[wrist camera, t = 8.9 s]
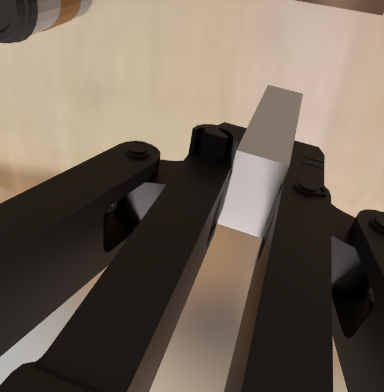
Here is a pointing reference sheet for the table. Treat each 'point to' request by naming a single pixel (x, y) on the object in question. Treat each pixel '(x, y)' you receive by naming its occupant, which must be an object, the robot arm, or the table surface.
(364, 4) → the base board
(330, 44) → the table surface
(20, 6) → the coffee cup
